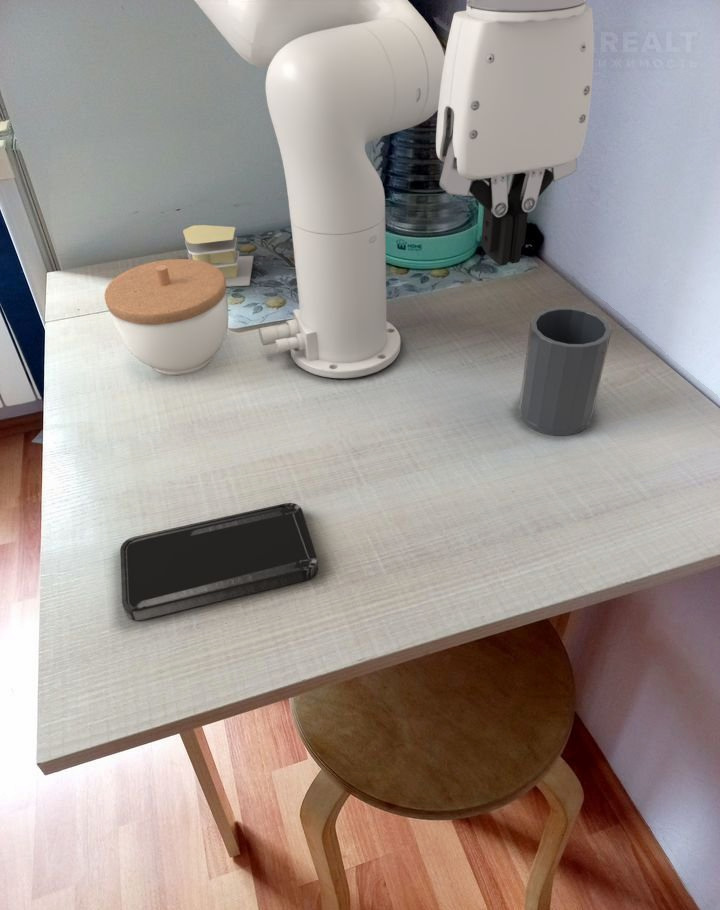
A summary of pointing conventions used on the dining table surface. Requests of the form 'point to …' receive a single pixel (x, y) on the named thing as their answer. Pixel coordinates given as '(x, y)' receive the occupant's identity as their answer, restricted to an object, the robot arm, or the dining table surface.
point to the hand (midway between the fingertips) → (501, 257)
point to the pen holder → (563, 369)
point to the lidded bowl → (170, 313)
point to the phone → (215, 560)
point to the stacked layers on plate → (219, 252)
